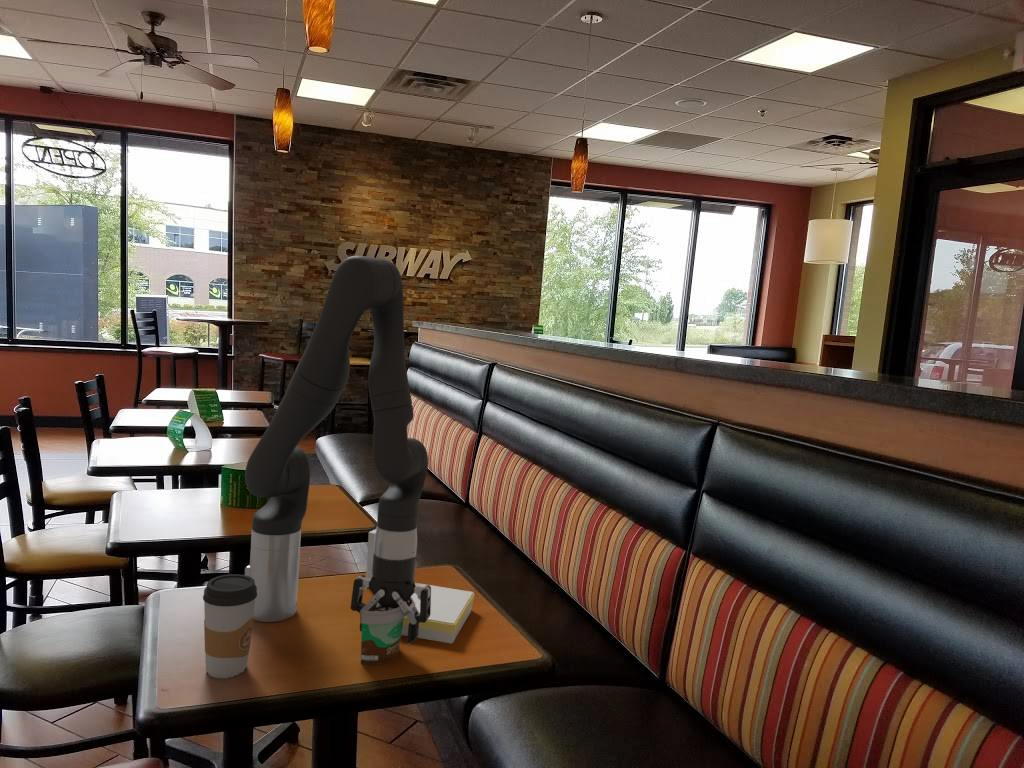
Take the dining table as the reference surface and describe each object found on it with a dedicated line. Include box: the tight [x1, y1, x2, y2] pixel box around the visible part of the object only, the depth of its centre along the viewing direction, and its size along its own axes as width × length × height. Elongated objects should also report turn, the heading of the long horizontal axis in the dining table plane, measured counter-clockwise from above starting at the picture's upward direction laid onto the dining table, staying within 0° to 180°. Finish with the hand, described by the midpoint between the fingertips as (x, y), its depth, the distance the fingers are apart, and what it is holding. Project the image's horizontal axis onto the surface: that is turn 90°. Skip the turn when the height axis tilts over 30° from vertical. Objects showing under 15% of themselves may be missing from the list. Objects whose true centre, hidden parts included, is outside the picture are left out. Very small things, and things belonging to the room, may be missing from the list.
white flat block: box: [401, 582, 475, 645], centre depth 141 cm, size 14×16×4 cm
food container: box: [359, 602, 406, 665], centre depth 126 cm, size 12×6×10 cm, turn 168°
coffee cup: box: [202, 573, 257, 679], centre depth 116 cm, size 8×8×15 cm
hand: (388, 637), depth 126 cm, fingers open, 8 cm apart
